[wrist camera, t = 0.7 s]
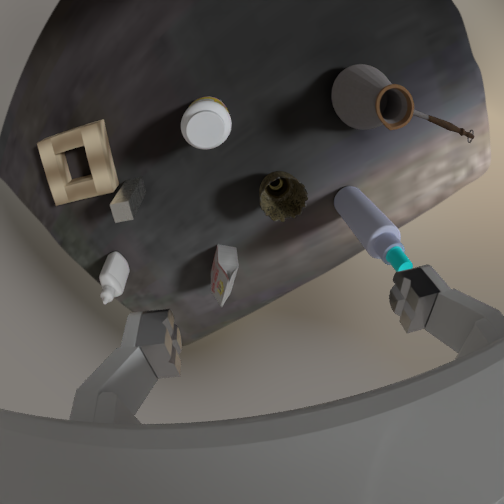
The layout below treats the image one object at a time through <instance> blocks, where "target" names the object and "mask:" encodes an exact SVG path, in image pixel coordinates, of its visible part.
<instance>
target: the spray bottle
mask: <svg viewBox="0 0 504 504" xmlns="http://www.w3.org/2000/svg"><path fill="white" fill-rule="evenodd" d="M334 206H335V209H336V210H337V212H338V213H339V214H340V216H341V217H342V218H343V220H344V221H345V222H346V223H347V225H348V226H349V227H350V229H351V230H352V231H353V233H354V234H355V236H356V237H357V238H358V240H359V241H360V242H361V244H362V245H363V246H364V248H365V249H366V251H367V252H368V253H369V255H370V256H372V257H373V258H377V259H382V261H383V262H384V263H385V264H387V265H392V266H393V268H394V269H395V270H396V272H398V271H403V270H407V269H411V268H412V267H413V264H412V263H411V261H410V260H409V259H408V257H407V256H406V255H405V254H404V251H405V248H404V246H403V244H402V243H401V242H400V239H401V235H400V231H399V229H398V228H397V227H396V226H395V225H394V224H393V223H392V222H391V221H390V220H389V219H388V218H387V217H386V216H385V215H384V214H383V212H382V211H381V210H380V209H379V208H378V207H377V206H376V205H375V204H374V203H373V202H372V201H371V200H370V199H369V198H367V197H366V196H365V195H364V194H363V193H362V192H361V191H360V190H359V189H358V188H356V187H354V186H347V187H344V188H342V189H341V190H340V191H339V192H338V193H337V194H336V196H335V199H334Z"/></svg>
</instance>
